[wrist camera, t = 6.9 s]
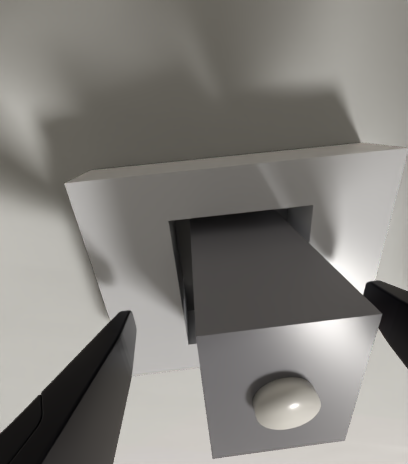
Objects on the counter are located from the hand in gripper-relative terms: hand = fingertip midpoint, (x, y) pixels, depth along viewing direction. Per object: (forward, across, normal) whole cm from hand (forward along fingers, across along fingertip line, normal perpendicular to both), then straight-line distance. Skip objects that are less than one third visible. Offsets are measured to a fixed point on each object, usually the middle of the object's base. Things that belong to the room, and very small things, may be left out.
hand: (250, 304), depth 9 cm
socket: (+4, 0, 0) cm, 4 cm away
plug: (+4, 0, 0) cm, 4 cm away
